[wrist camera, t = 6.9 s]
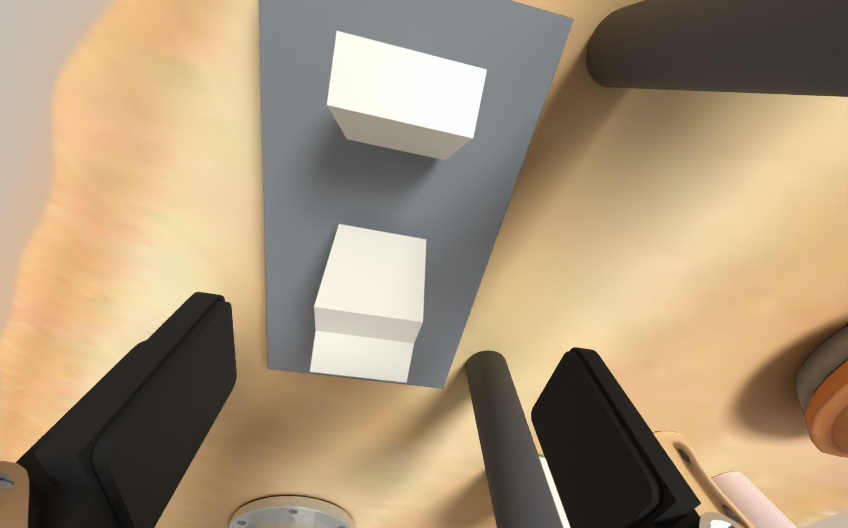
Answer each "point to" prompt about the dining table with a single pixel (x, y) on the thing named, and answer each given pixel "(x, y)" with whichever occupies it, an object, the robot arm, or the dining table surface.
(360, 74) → the paddle
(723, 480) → the smoothie
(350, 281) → the middle paddle
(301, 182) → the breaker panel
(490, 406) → the rod
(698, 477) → the beer glass
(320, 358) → the paddle
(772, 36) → the rod
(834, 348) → the pie
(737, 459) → the dining table surface
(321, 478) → the dining table surface
